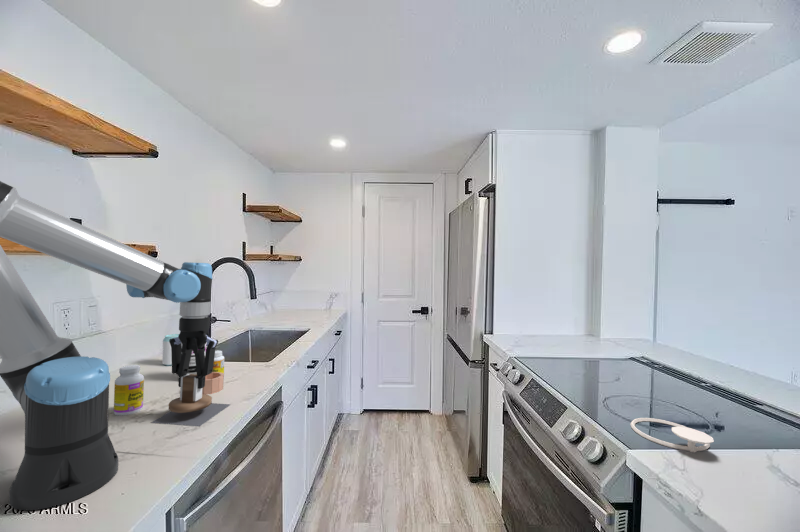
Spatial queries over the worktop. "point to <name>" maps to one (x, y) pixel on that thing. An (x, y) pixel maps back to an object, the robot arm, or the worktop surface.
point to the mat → (192, 416)
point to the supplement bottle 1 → (128, 390)
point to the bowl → (213, 383)
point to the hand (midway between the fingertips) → (191, 398)
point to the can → (167, 350)
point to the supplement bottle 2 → (218, 362)
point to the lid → (189, 398)
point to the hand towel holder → (681, 431)
